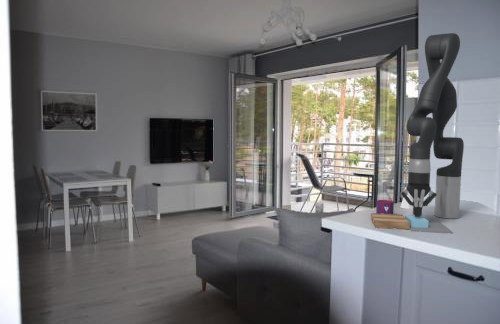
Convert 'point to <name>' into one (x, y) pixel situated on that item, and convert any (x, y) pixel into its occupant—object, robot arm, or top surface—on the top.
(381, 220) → the deck
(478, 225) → the top surface
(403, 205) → the figurine
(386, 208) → the mug
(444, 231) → the mat
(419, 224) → the light blue block
